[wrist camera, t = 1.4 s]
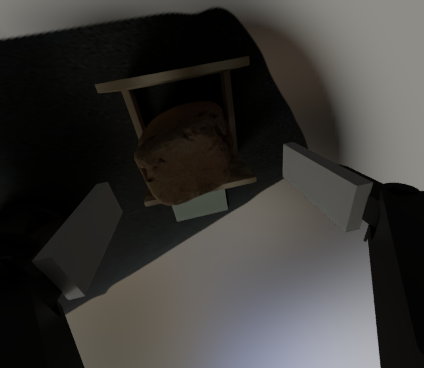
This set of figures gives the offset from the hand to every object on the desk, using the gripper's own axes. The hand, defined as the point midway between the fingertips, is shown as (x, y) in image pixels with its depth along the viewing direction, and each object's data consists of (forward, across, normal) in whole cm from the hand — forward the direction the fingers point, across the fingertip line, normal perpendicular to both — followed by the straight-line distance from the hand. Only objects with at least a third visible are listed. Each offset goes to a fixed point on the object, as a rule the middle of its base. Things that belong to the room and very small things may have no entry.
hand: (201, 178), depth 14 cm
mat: (+23, -1, -15) cm, 27 cm away
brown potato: (+23, 0, 0) cm, 23 cm away
